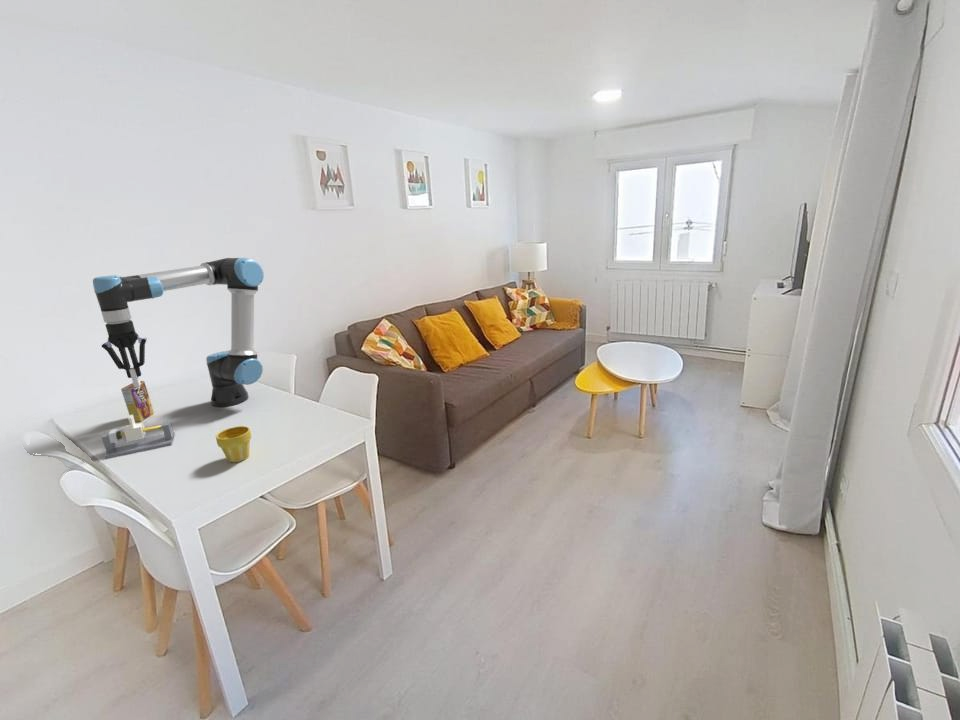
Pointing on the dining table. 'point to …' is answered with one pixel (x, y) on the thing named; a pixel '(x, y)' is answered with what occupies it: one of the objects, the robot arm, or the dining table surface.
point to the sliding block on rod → (136, 441)
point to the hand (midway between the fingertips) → (137, 385)
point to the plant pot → (235, 443)
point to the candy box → (137, 401)
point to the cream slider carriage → (134, 430)
